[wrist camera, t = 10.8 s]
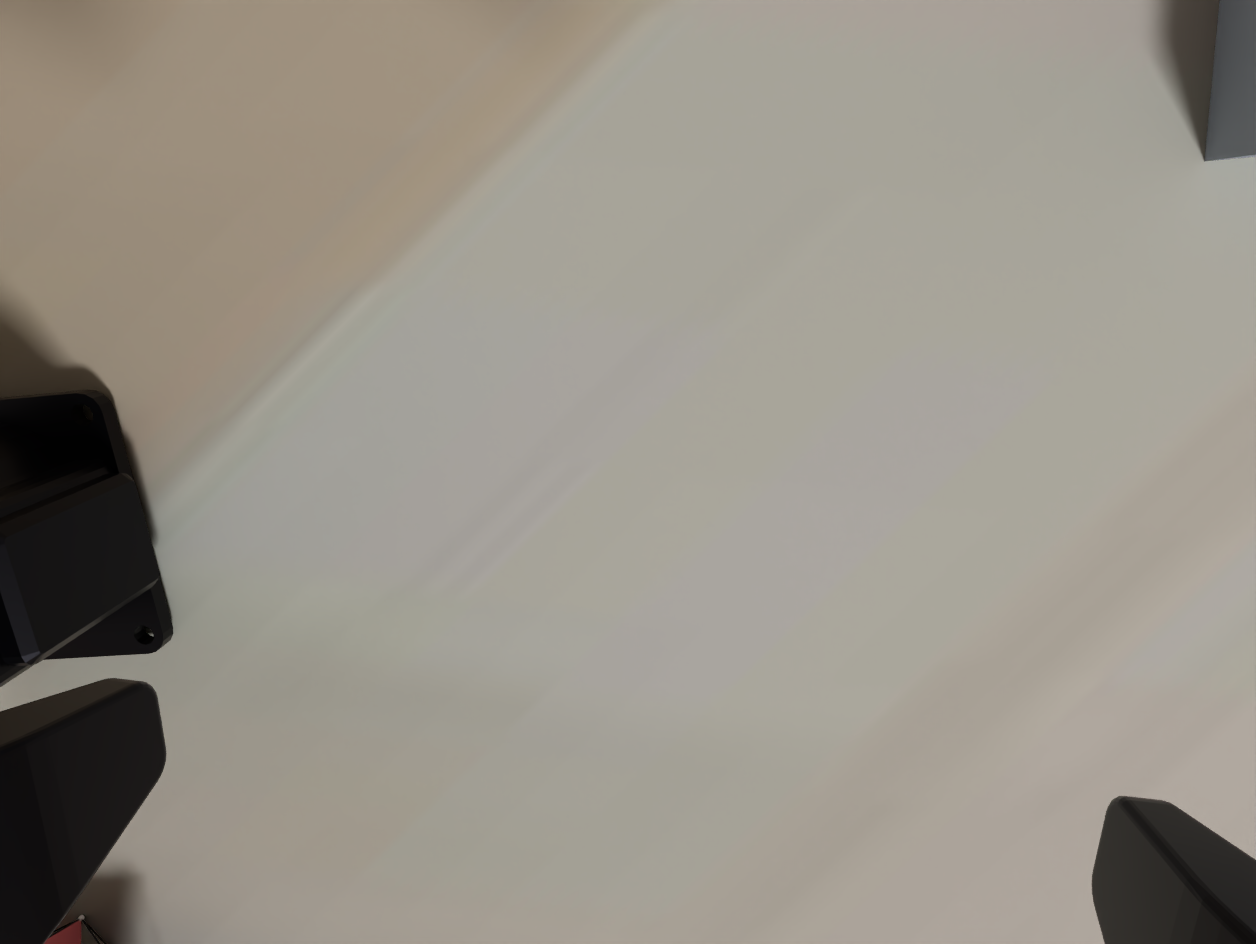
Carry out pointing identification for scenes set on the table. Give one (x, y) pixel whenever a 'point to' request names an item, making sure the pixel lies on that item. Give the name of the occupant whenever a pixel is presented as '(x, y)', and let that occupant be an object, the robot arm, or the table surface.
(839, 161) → the table surface
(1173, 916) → the robot arm
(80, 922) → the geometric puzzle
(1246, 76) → the slate base block
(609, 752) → the table surface
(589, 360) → the table surface
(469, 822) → the table surface
